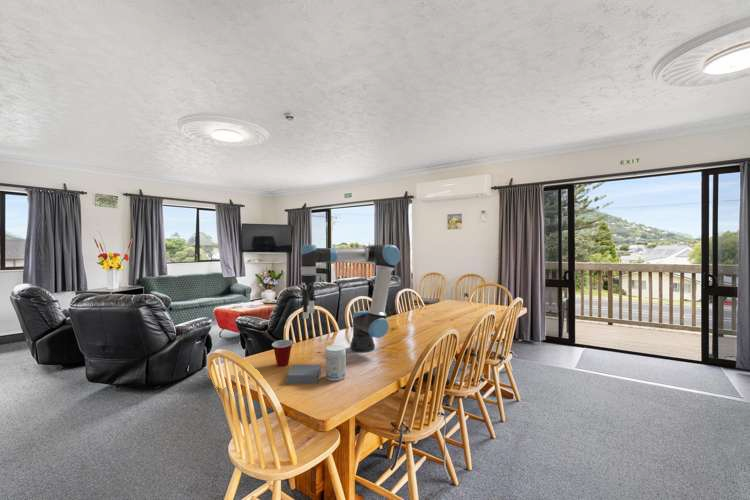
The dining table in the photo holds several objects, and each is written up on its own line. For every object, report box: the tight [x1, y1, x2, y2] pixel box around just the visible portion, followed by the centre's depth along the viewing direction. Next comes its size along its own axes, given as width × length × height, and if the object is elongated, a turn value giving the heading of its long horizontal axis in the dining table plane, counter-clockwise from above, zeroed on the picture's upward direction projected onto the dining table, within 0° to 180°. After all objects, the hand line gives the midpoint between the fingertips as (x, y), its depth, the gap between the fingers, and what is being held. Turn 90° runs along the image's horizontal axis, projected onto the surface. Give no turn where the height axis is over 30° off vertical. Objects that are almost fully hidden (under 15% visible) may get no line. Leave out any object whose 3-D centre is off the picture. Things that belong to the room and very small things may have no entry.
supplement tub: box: [325, 344, 347, 382], centre depth 165 cm, size 10×10×15 cm
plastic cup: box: [271, 339, 294, 367], centre depth 183 cm, size 11×11×12 cm
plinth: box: [285, 364, 322, 385], centre depth 165 cm, size 14×14×4 cm
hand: (308, 315), depth 178 cm, fingers open, 13 cm apart
